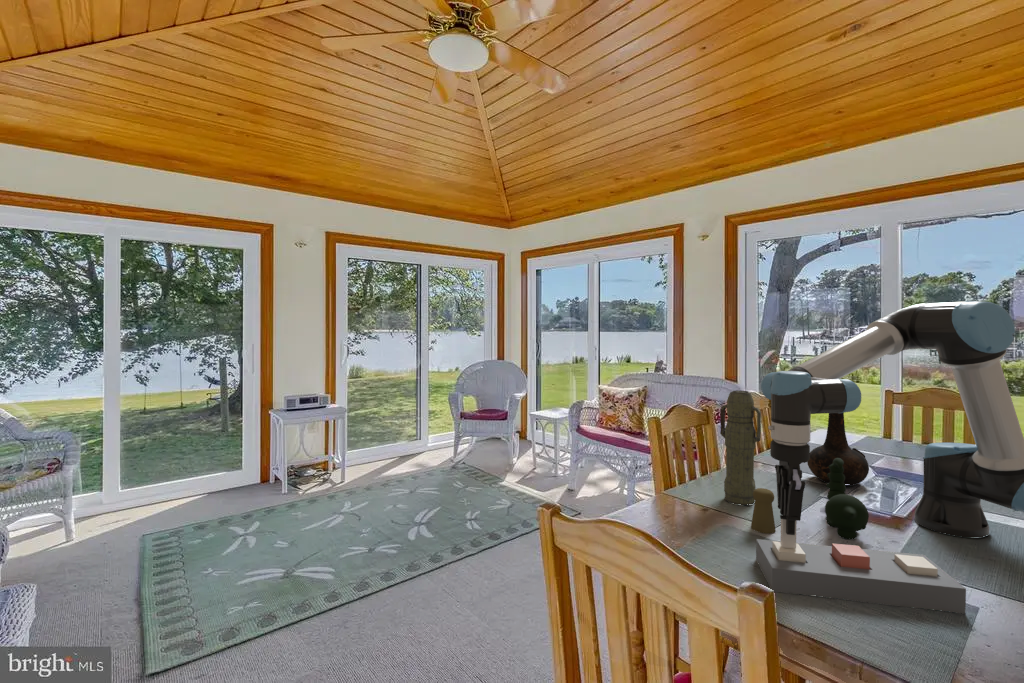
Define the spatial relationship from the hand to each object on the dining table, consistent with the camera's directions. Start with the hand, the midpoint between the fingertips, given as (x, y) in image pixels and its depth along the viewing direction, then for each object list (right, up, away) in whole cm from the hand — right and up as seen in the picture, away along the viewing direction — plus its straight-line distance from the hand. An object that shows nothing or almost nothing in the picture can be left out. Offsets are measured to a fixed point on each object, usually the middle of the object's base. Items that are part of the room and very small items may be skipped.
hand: (788, 546), depth 107 cm
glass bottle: (+53, -4, +63) cm, 83 cm away
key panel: (+12, -7, -3) cm, 14 cm away
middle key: (+12, -4, -3) cm, 13 cm away
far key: (0, -4, 0) cm, 4 cm away
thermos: (+11, -5, +46) cm, 48 cm away
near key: (+23, -5, -6) cm, 25 cm away
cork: (+8, -6, +25) cm, 27 cm away
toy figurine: (+29, -6, +25) cm, 39 cm away
